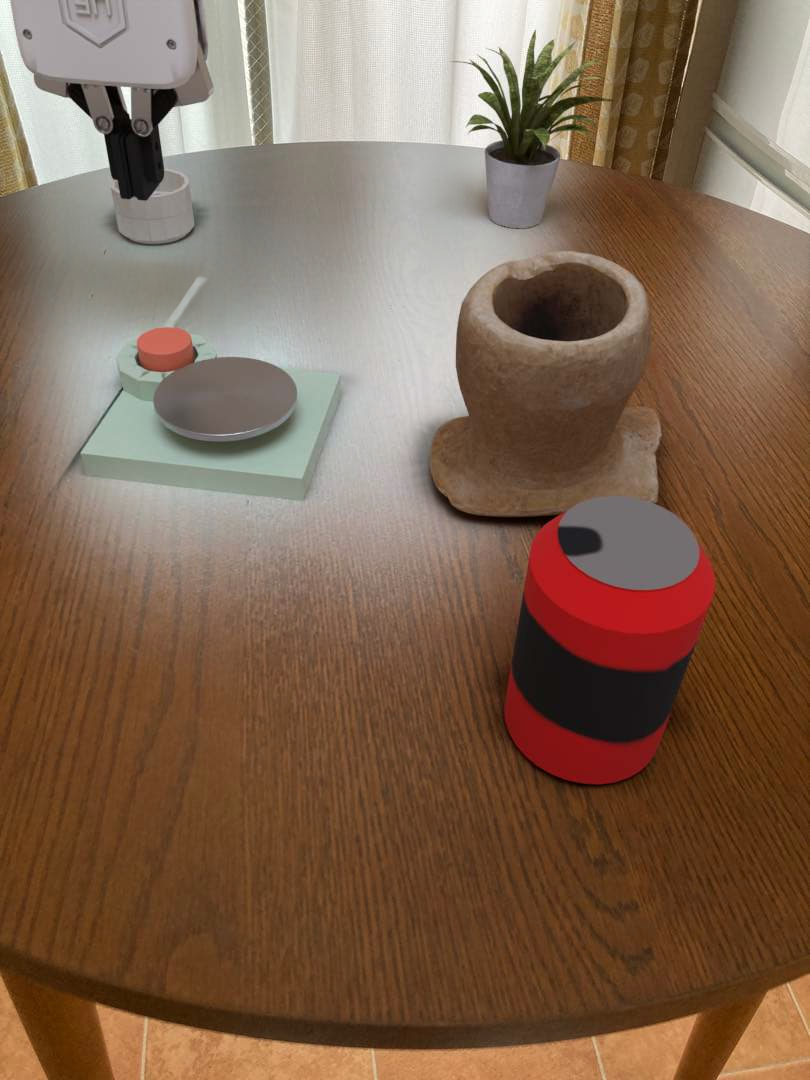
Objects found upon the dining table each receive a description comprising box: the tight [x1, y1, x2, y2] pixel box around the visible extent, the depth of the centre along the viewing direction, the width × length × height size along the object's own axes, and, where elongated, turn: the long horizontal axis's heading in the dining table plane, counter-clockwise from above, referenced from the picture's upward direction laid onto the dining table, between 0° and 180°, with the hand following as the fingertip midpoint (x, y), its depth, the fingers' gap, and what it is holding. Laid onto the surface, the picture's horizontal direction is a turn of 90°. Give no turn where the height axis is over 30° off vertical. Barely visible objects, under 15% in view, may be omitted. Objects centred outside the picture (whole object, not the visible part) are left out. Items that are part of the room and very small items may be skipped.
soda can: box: [503, 496, 716, 785], centre depth 41 cm, size 8×8×12 cm
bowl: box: [110, 168, 195, 245], centre depth 84 cm, size 7×7×4 cm
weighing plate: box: [153, 356, 297, 441], centre depth 58 cm, size 9×9×1 cm
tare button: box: [137, 326, 194, 372], centre depth 62 cm, size 4×4×2 cm
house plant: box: [450, 27, 618, 229], centre depth 84 cm, size 14×14×16 cm
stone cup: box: [428, 250, 663, 518], centre depth 53 cm, size 15×12×15 cm
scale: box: [80, 332, 342, 502], centre depth 61 cm, size 15×13×4 cm
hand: (140, 191), depth 60 cm, fingers closed
